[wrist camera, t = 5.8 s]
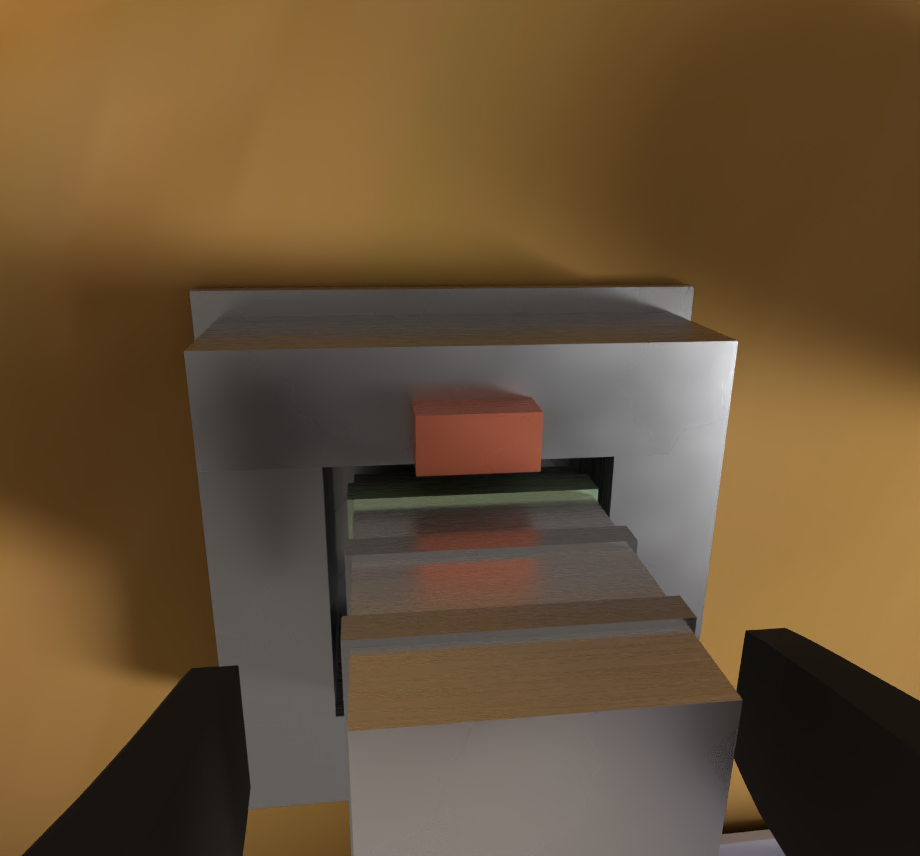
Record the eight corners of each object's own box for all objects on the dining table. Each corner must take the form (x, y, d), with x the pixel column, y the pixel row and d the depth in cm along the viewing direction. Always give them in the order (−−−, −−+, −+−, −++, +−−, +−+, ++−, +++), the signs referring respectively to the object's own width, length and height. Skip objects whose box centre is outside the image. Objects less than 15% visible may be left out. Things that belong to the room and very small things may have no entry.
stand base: (686, 283, 16) (796, 319, 12) (644, 683, 19) (720, 818, 15) (194, 288, 14) (129, 329, 10) (238, 713, 18) (202, 869, 14)
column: (577, 460, 14) (753, 691, 8) (564, 652, 15) (706, 982, 9) (348, 469, 13) (336, 723, 7) (356, 667, 15) (353, 1028, 8)
